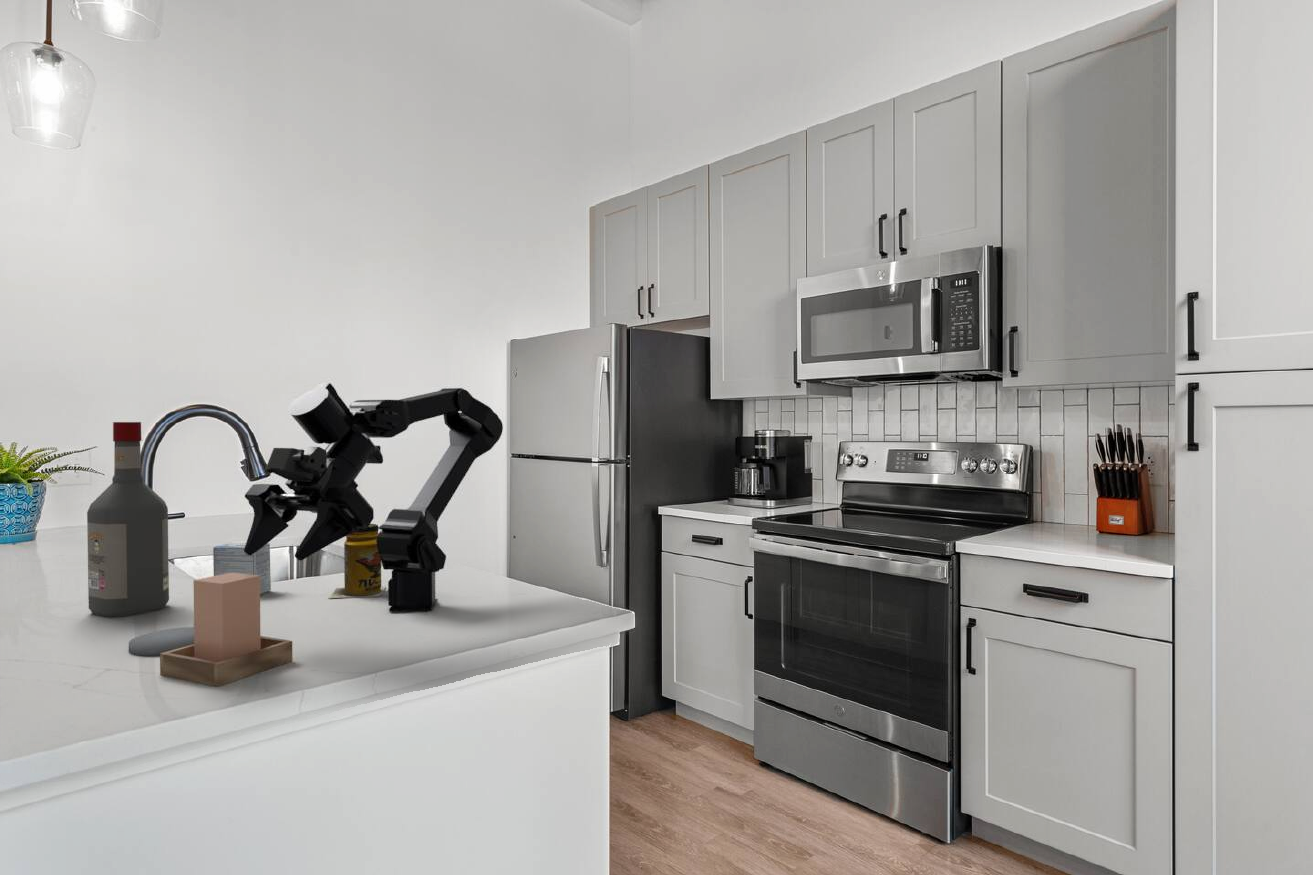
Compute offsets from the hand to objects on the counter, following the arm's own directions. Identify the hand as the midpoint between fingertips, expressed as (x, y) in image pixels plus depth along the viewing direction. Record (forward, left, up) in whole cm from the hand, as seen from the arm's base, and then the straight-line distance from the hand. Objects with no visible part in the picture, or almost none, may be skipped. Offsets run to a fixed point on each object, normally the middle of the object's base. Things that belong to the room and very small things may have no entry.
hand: (271, 555), depth 97 cm
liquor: (+32, -27, -13) cm, 43 cm away
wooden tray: (+3, +5, -13) cm, 14 cm away
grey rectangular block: (+19, -37, -13) cm, 43 cm away
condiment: (-1, -35, -13) cm, 37 cm away
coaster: (+15, -6, -13) cm, 20 cm away
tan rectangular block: (+3, +5, -13) cm, 14 cm away
